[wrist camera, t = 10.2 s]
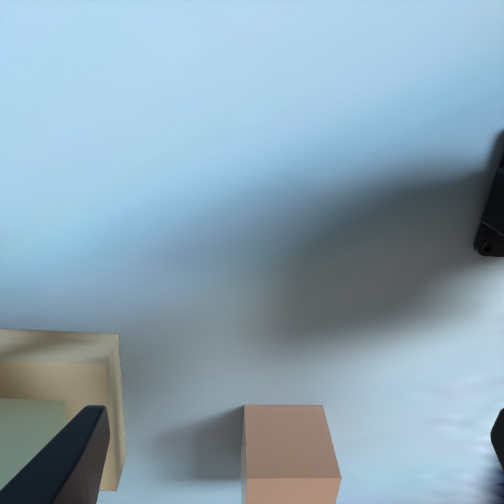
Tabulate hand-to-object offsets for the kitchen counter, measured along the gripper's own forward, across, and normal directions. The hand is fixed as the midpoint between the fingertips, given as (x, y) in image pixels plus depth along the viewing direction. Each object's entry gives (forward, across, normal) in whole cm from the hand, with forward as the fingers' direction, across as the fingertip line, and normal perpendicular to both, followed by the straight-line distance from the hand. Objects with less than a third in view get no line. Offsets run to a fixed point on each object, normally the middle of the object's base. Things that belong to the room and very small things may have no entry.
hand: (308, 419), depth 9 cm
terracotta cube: (+12, -2, +15) cm, 19 cm away
